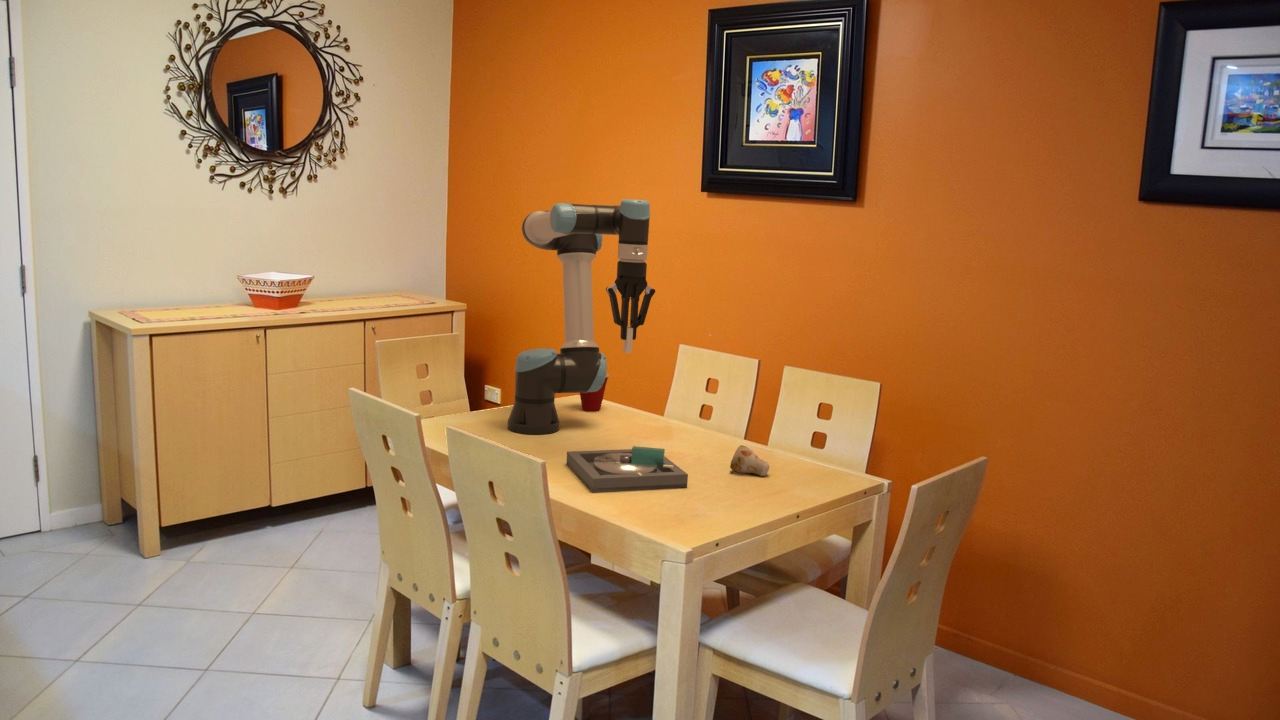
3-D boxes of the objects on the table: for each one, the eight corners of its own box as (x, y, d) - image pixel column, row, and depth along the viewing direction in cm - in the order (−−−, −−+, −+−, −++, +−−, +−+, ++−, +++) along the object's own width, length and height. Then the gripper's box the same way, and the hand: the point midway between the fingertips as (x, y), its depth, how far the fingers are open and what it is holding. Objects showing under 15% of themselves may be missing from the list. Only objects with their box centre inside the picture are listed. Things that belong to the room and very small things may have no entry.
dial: (588, 477, 236) (589, 452, 235) (598, 460, 252) (599, 436, 251) (660, 483, 234) (661, 458, 233) (665, 465, 250) (667, 441, 249)
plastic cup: (601, 405, 321) (602, 370, 319) (612, 413, 311) (614, 376, 309) (569, 406, 317) (571, 370, 315) (580, 414, 307) (581, 377, 305)
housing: (566, 464, 251) (567, 450, 250) (653, 460, 259) (654, 446, 258) (592, 492, 228) (593, 477, 228) (687, 487, 236) (688, 472, 236)
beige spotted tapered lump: (768, 481, 247) (750, 447, 245) (736, 490, 252) (719, 457, 251) (777, 467, 253) (761, 434, 251) (746, 476, 258) (730, 444, 257)
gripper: (612, 261, 241) (607, 354, 245) (661, 262, 245) (656, 354, 249) (603, 258, 248) (599, 349, 252) (651, 260, 252) (646, 349, 256)
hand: (627, 352), depth 251 cm, fingers closed
